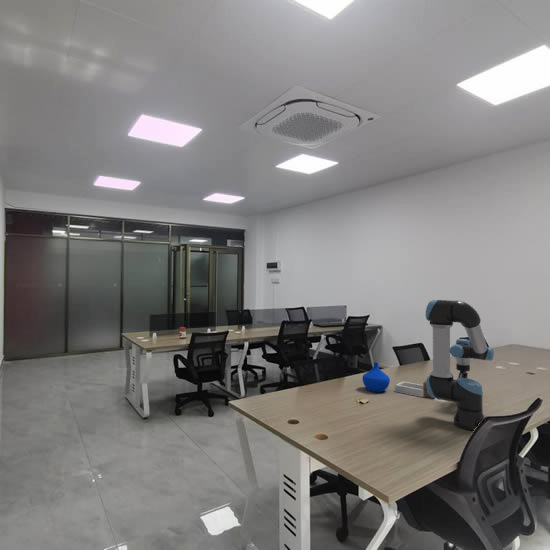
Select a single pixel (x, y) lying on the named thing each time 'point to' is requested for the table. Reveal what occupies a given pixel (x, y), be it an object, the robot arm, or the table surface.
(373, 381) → the vase
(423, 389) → the tethered block
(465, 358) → the robot arm
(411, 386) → the lane
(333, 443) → the table surface
